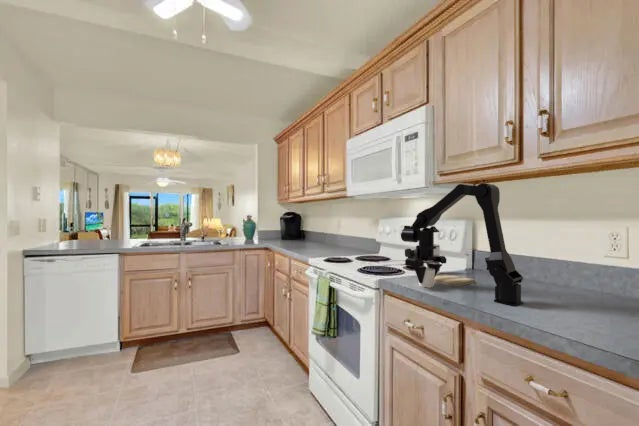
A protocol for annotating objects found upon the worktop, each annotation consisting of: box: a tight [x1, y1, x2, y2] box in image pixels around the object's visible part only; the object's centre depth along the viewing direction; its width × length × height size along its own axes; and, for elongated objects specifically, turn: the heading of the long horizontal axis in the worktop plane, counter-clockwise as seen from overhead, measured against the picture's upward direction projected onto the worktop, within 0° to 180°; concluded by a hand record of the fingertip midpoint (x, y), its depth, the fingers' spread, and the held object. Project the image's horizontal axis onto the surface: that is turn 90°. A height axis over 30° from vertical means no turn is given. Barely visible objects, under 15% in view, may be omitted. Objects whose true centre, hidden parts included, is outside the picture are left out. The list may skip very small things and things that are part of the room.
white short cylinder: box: [417, 268, 435, 289], centre depth 126 cm, size 7×7×7 cm
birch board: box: [434, 273, 476, 288], centre depth 135 cm, size 14×14×1 cm
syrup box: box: [424, 243, 441, 275], centre depth 153 cm, size 6×6×14 cm
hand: (426, 282), depth 126 cm, fingers closed on white short cylinder, 6 cm apart
